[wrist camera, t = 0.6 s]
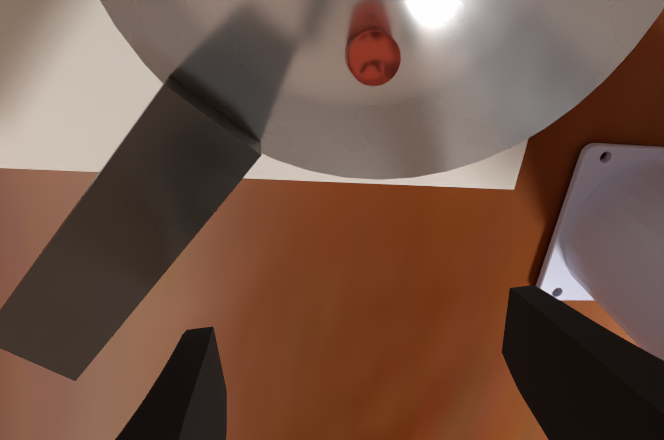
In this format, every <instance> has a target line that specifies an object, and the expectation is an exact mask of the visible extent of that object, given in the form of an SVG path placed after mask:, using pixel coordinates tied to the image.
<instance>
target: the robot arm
mask: <svg viewBox="0 0 664 440" xmlns="http://www.w3.org/2000/svg"><path fill="white" fill-rule="evenodd" d="M604 152H606V155H605V157H604V158H602V159H600V156H601V155H602V154H603V153H604ZM556 288H558V289H557V290H556V291H554V292H553V290H555V289H556ZM560 300H595V301H596V302H597V303H598V304H599V305H600V306H601V307H602V308H603V309H604V310H605V311H606V312H607V313H608V314H609V315H610V316H611V317H612V318H613V320H614V321H615V322H616V323H617V324H618V325H619V326H620V327H621V328H622V329H623V330H624V331H625V332H626V333H627V334H628V335H629V336H630V337H631V338H632V339H633V340H634V341H635V342H636V343H637V344H638V345H639V346H640V347H641V348H639V347H637V346H636V345H634V344H632V343H630V342H628V341H627V340H625V339H623V338H621V337H620V336H618V335H616V334H614V333H613V332H611V331H609V330H607V329H606V328H604V327H602V326H601V325H599V324H597V323H596V322H594V321H592V320H591V319H589V318H588V317H586V316H584V315H583V314H581V313H579V312H578V311H576V310H575V309H573V308H571V307H570V306H568V305H566V304H565V303H563V302H562V301H560ZM502 354H503V356H504V358H505V361H506V363H507V366H508V368H509V370H510V373H511V375H512V377H513V379H514V381H515V383H516V386H517V388H518V390H519V391H520V393H521V395H522V397H523V398H524V400H525V402H526V403H527V405H528V406H529V408H530V410H531V411H532V413H533V415H534V416H535V418H536V420H537V421H538V423H539V425H540V426H541V428H542V429H543V431H544V433H545V434H546V436H547V438H548V439H549V440H664V147H656V146H640V145H623V144H606V143H590V144H588V145H586V146H585V147H584V148H583V149H582V151H581V152H580V155H579V158H578V161H577V164H576V167H575V170H574V173H573V176H572V179H571V182H570V185H569V188H568V191H567V194H566V197H565V200H564V203H563V206H562V209H561V212H560V215H559V218H558V221H557V224H556V227H555V230H554V233H553V236H552V239H551V242H550V245H549V248H548V251H547V254H546V257H545V260H544V263H543V266H542V269H541V272H540V275H539V278H538V281H537V284H536V286H534V285H531V286H523V287H515V288H510V291H509V299H508V307H507V315H506V323H505V331H504V339H503V347H502ZM226 427H227V391H226V386H225V381H224V376H223V371H222V367H221V362H220V357H219V352H218V347H217V342H216V338H215V333H214V328H213V327H206V328H198V329H191V330H186V331H185V333H184V334H183V335H182V337H181V339H180V341H179V342H178V344H177V346H176V348H175V350H174V352H173V353H172V355H171V357H170V359H169V360H168V362H167V364H166V365H165V367H164V369H163V370H162V372H161V374H160V375H159V377H158V379H157V380H156V382H155V383H154V385H153V386H152V388H151V390H150V391H149V393H148V394H147V396H146V397H145V399H144V400H143V402H142V403H141V405H140V406H139V408H138V409H137V410H136V412H135V413H134V415H133V416H132V417H131V419H130V420H129V422H128V423H127V424H126V426H125V427H124V429H123V430H122V431H121V433H120V434H119V435H118V437H117V438H116V439H115V440H226Z"/></svg>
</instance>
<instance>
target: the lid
mask: <svg viewBox="0 0 664 440" xmlns="http://www.w3.org/2000/svg"><path fill="white" fill-rule="evenodd" d="M100 1H101V3H102V5H103V6H104V8H105V10H106V11H107V13H108V15H109V16H110V18H111V20H112V21H113V23H114V25H115V26H116V28H117V29H118V30H119V32H120V33H121V34H122V36H123V37H124V38H125V39H126V41H127V42H128V43H129V45H130V46H131V47H132V49H133V50H134V51H135V53H136V54H137V55H138V56H139V58H140V59H141V60H142V62H143V63H144V64H145V65H146V66H147V67H148V68H149V69H150V71H151V72H152V73H153V74H154V75H155V76H156V77H157V78H158V79H159V80H160V81H161V82H162V83H163V85H162V86H161V87H160V89H159V90H158V91H157V93H156V94H155V96H154V97H153V98H152V100H151V101H150V103H149V104H148V105H147V107H146V108H145V110H144V111H143V112H142V114H141V115H140V116H139V118H138V119H137V121H136V122H135V123H134V125H133V126H132V128H131V129H130V130H129V132H128V133H127V135H126V136H125V137H124V139H123V140H122V141H121V143H120V144H119V146H118V147H117V148H116V150H115V151H114V153H113V154H112V155H111V157H110V158H109V160H108V161H107V162H106V164H105V165H104V166H103V168H102V169H101V171H100V172H99V173H98V175H97V176H96V178H95V179H94V180H93V182H92V183H91V185H90V186H89V187H88V189H87V190H86V191H85V193H84V194H83V196H82V197H81V198H80V200H79V201H78V203H77V204H76V205H75V207H74V208H73V210H72V211H71V212H70V214H69V215H68V217H67V218H66V219H65V221H64V222H63V223H62V225H61V226H60V228H59V229H58V230H57V232H56V233H55V235H54V236H53V237H52V239H51V240H50V242H49V243H48V244H47V246H46V247H45V248H44V250H43V251H42V253H41V254H40V255H39V257H38V258H37V260H36V261H35V262H34V264H33V265H32V267H31V268H30V269H29V271H28V272H27V273H26V275H25V276H24V278H23V279H22V280H21V282H20V283H19V285H18V286H17V287H16V289H15V290H14V292H13V293H12V294H11V296H10V297H9V298H8V300H7V301H6V303H5V304H4V305H3V307H2V308H1V310H0V348H1V349H3V350H5V351H8V352H10V353H12V354H15V355H17V356H19V357H21V358H24V359H26V360H28V361H31V362H33V363H35V364H37V365H40V366H42V367H44V368H47V369H49V370H51V371H53V372H56V373H58V374H60V375H63V376H65V377H67V378H69V379H72V380H74V381H76V380H77V378H78V377H79V376H80V375H81V374H82V372H83V371H84V370H85V369H86V368H87V366H88V365H89V364H90V363H91V362H92V360H93V359H94V358H95V357H96V355H97V354H98V353H99V352H100V351H101V349H102V348H103V347H104V346H105V345H106V343H107V342H108V341H109V340H110V338H111V337H112V336H113V335H114V334H115V332H116V331H117V330H118V329H119V328H120V326H121V325H122V324H123V323H124V321H125V320H126V319H127V318H128V317H129V315H130V314H131V313H132V312H133V311H134V309H135V308H136V307H137V306H138V305H139V303H140V302H141V301H142V300H143V298H144V297H145V296H146V295H147V294H148V292H149V291H150V290H151V289H152V288H153V286H154V285H155V284H156V283H157V281H158V280H159V279H160V278H161V277H162V275H163V274H164V273H165V272H166V271H167V269H168V268H169V267H170V266H171V264H172V263H173V262H174V261H175V260H176V258H177V257H178V256H179V255H180V254H181V252H182V251H183V250H184V249H185V248H186V246H187V245H188V244H189V243H190V241H191V240H192V239H193V238H194V237H195V235H196V234H197V233H198V232H199V231H200V229H201V228H202V227H203V226H204V224H205V223H206V222H207V221H208V220H209V218H210V217H211V216H212V215H213V214H214V212H215V211H216V210H217V209H218V208H219V206H220V205H221V204H222V203H223V201H224V200H225V199H226V198H227V197H228V195H229V194H230V193H231V192H232V191H233V189H234V188H235V187H236V186H237V184H238V183H239V182H240V181H241V180H242V178H243V177H244V176H245V175H246V174H247V172H248V171H249V170H250V169H251V167H252V166H253V165H254V164H255V163H256V161H257V160H258V159H259V158H260V157H261V153H262V154H264V155H266V156H268V157H271V158H273V159H275V160H278V161H281V162H284V163H287V164H290V165H293V166H296V167H299V168H302V169H305V170H308V171H313V172H318V173H323V174H329V175H334V176H339V177H345V178H360V179H376V180H382V179H399V178H414V177H419V176H425V175H430V174H436V173H441V172H447V171H450V170H453V169H456V168H460V167H463V166H466V165H469V164H473V163H476V162H479V161H482V160H484V159H486V158H489V157H491V156H493V155H496V154H498V153H500V152H502V151H505V150H507V149H509V148H512V147H514V146H515V145H517V144H519V143H521V142H522V141H524V140H526V139H528V138H529V137H531V136H533V135H535V134H536V133H538V132H540V131H541V130H543V129H545V128H546V127H548V126H549V125H550V124H552V123H553V122H555V121H556V120H557V119H559V118H560V117H561V116H563V115H564V114H566V113H567V112H568V111H570V110H571V109H572V108H574V107H575V106H576V105H578V104H579V103H580V102H581V101H582V100H583V99H584V98H585V97H587V96H588V95H589V94H590V93H591V92H592V91H593V90H594V89H595V88H597V87H598V86H599V85H600V84H601V83H602V82H603V81H604V80H605V79H606V78H607V77H608V76H609V75H610V74H611V73H612V72H613V71H614V70H615V69H616V68H617V66H618V65H619V64H620V63H621V62H622V61H623V60H624V59H625V58H626V57H627V56H628V54H629V53H630V52H631V51H632V50H633V49H634V48H635V46H636V45H637V44H638V42H639V41H640V40H641V38H642V37H643V36H644V34H645V33H646V32H647V30H648V29H649V28H650V27H651V25H652V24H653V23H654V21H655V20H656V19H657V17H658V16H659V15H660V13H661V12H662V10H663V8H664V0H100Z"/></svg>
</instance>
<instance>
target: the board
mask: <svg viewBox="0 0 664 440" xmlns="http://www.w3.org/2000/svg"><path fill="white" fill-rule="evenodd" d="M162 85H163V83H162V82H161V81H160V80H159V79H158V78H157V77H156V76H155V75H154V74H153V73H152V72H151V71H150V69H149V68H148V67H147V66H146V65H145V64H144V63H143V62H142V60H141V59H140V58H139V56H138V55H137V54H136V53H135V51H134V50H133V49H132V47H131V46H130V45H129V43H128V42H127V41H126V39H125V38H124V37H123V36H122V34H121V33H120V32H119V30H118V29H117V28H116V26H115V25H114V23H113V21H112V20H111V18H110V16H109V15H108V13H107V11H106V10H105V8H104V6H103V5H102V3H101V1H100V0H0V168H16V169H39V170H63V171H87V172H100V171H101V169H102V168H103V166H104V165H105V164H106V162H107V161H108V160H109V158H110V157H111V155H112V154H113V153H114V151H115V150H116V148H117V147H118V146H119V144H120V143H121V141H122V140H123V139H124V137H125V136H126V135H127V133H128V132H129V130H130V129H131V128H132V126H133V125H134V123H135V122H136V121H137V119H138V118H139V116H140V115H141V114H142V112H143V111H144V110H145V108H146V107H147V105H148V104H149V103H150V101H151V100H152V98H153V97H154V96H155V94H156V93H157V91H158V90H159V89H160V87H161V86H162ZM528 139H529V138H528ZM528 139H526V140H524V141H522V142H521V143H519V144H517V145H515V146H514V147H512V148H509V149H507V150H505V151H502V152H500V153H498V154H496V155H493V156H491V157H489V158H486V159H484V160H482V161H479V162H476V163H473V164H469V165H466V166H463V167H460V168H456V169H453V170H450V171H447V172H441V173H436V174H430V175H425V176H419V177H414V178H399V179H382V180H376V179H360V178H345V177H339V176H334V175H329V174H323V173H318V172H313V171H308V170H305V169H302V168H299V167H296V166H293V165H290V164H287V163H284V162H281V161H278V160H275V159H273V158H271V157H268V156H266V155H264V154H262V153H261V157H260V158H259V159H258V160H257V161H256V163H255V164H254V165H253V166H252V167H251V169H250V170H249V171H248V172H247V174H246V175H245V176H244V177H243V178H253V179H277V180H300V181H324V182H348V183H372V184H395V185H419V186H443V187H467V188H490V189H514V188H515V184H516V181H517V177H518V174H519V170H520V167H521V163H522V160H523V156H524V153H525V149H526V146H527V142H528Z"/></svg>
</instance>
